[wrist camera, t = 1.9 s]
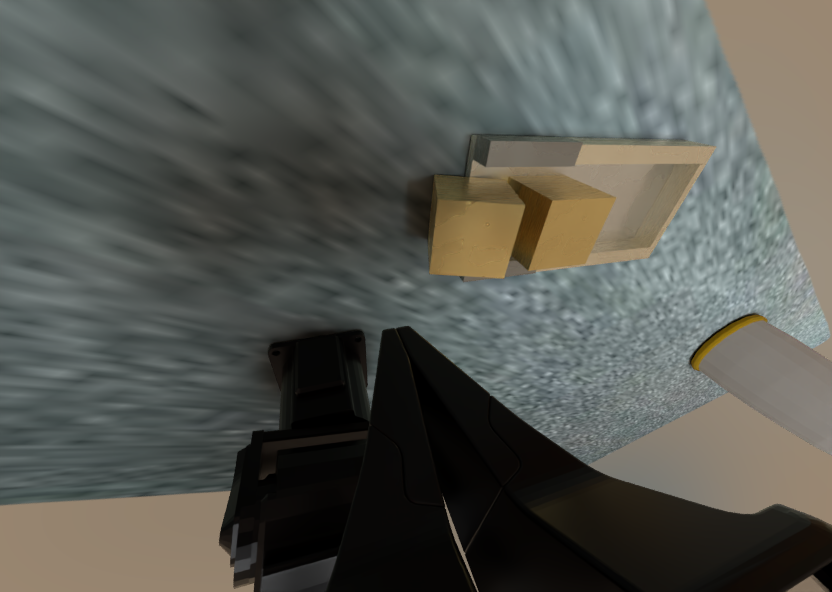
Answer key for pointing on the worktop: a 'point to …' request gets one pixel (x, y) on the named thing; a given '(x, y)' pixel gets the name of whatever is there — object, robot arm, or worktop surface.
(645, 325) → the worktop surface
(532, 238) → the chip
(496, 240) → the chip
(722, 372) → the soap bottle
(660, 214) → the slot board
